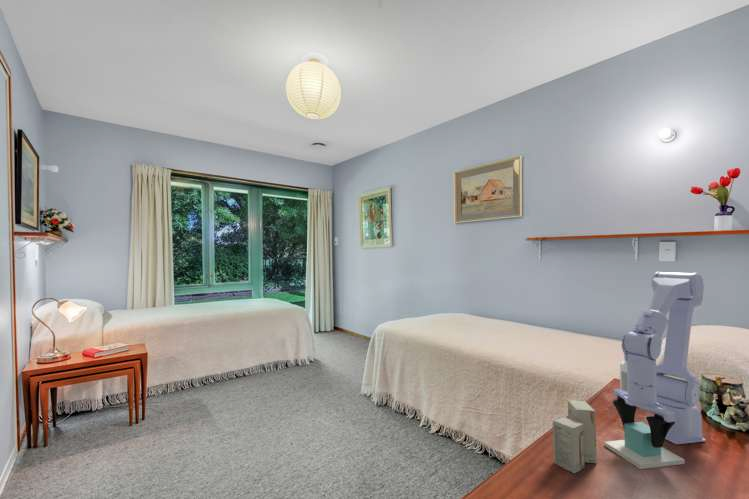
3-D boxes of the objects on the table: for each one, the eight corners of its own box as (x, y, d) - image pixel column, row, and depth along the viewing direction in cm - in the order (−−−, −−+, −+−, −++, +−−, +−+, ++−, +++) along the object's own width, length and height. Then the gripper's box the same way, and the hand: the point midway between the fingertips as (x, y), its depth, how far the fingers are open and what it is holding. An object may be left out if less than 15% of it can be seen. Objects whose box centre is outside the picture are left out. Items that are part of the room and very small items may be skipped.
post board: (644, 441, 92) (644, 426, 92) (684, 463, 82) (684, 446, 82) (604, 445, 90) (604, 429, 90) (640, 469, 80) (640, 451, 80)
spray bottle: (626, 400, 117) (626, 346, 117) (616, 392, 124) (615, 341, 124) (649, 402, 116) (648, 347, 116) (637, 394, 123) (637, 342, 123)
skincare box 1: (585, 468, 80) (585, 424, 80) (574, 474, 78) (573, 429, 78) (563, 457, 85) (563, 415, 85) (552, 462, 82) (551, 419, 83)
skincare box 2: (597, 464, 82) (596, 411, 82) (577, 462, 83) (576, 410, 83) (586, 449, 88) (586, 400, 88) (567, 447, 89) (567, 399, 89)
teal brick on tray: (641, 443, 89) (641, 421, 89) (661, 454, 84) (660, 431, 84) (624, 445, 88) (624, 423, 88) (643, 457, 83) (642, 433, 83)
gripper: (603, 373, 93) (604, 425, 92) (655, 395, 78) (657, 456, 78) (626, 371, 94) (627, 423, 94) (682, 392, 79) (683, 453, 79)
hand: (642, 438), depth 86 cm, fingers open, 7 cm apart
